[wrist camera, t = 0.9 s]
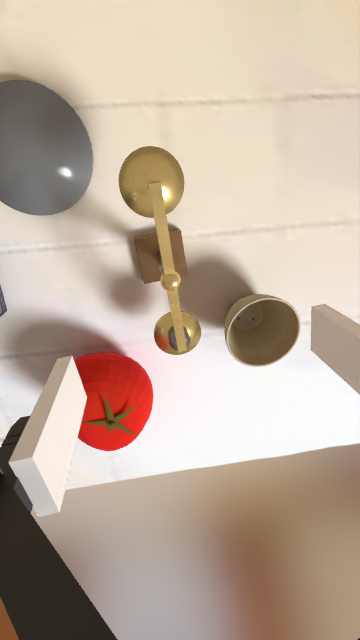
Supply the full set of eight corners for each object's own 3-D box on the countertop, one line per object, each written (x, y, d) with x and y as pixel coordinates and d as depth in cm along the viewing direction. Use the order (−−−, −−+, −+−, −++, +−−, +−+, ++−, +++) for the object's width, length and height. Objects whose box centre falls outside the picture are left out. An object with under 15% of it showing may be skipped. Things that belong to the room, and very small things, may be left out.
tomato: (80, 417, 49) (65, 478, 39) (61, 342, 44) (37, 390, 33) (156, 406, 50) (161, 462, 40) (146, 331, 45) (148, 374, 34)
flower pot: (200, 309, 45) (211, 329, 38) (257, 268, 43) (279, 281, 37) (235, 354, 49) (250, 380, 42) (288, 318, 47) (312, 338, 41)
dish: (0, 223, 37) (-5, 224, 36) (-50, 94, 31) (-57, 90, 30) (106, 204, 37) (105, 204, 36) (75, 75, 32) (72, 70, 31)
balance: (156, 337, 45) (164, 397, 32) (118, 162, 36) (107, 145, 23) (195, 329, 46) (219, 385, 32) (167, 153, 36) (185, 132, 23)
